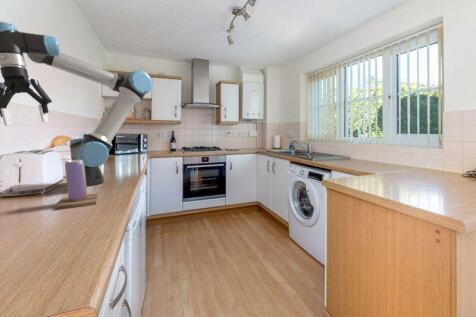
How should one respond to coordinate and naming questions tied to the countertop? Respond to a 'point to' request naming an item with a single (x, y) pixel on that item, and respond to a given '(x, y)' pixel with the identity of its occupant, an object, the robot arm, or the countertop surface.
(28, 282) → the countertop surface
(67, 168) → the beverage can
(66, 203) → the walnut trivet
